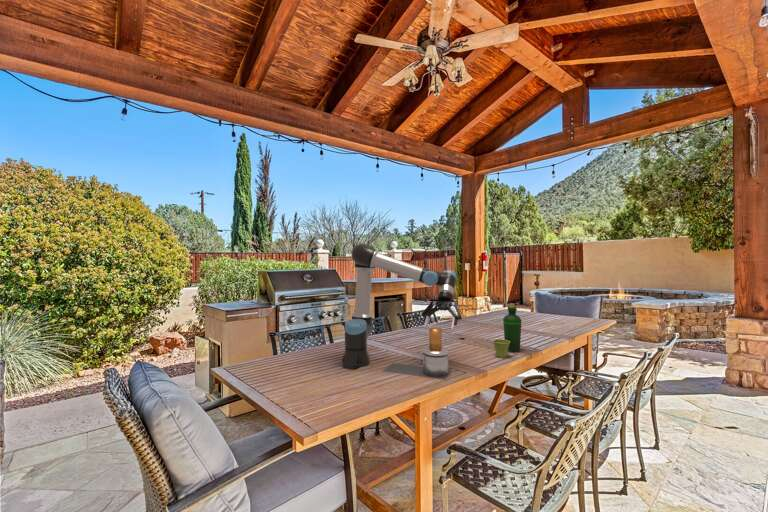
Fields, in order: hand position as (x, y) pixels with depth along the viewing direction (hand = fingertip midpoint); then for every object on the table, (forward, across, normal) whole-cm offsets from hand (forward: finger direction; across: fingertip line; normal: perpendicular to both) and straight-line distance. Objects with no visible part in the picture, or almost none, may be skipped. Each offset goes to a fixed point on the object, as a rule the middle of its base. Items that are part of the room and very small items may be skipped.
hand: (438, 329), depth 171 cm
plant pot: (-14, -25, -45) cm, 53 cm away
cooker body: (+17, +1, -12) cm, 21 cm away
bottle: (-24, -30, -56) cm, 68 cm away
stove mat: (+18, +10, -12) cm, 24 cm away
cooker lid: (+10, +1, -5) cm, 11 cm away
